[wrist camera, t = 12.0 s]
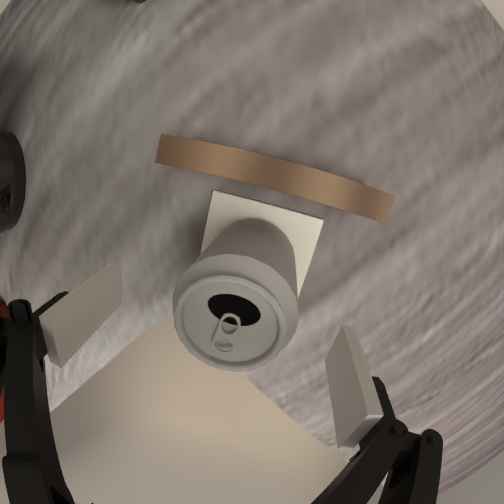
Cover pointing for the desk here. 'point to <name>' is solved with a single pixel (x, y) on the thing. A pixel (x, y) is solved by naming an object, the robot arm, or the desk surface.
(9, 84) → the desk surface
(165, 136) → the walnut plank
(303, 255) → the pad
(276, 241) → the can
